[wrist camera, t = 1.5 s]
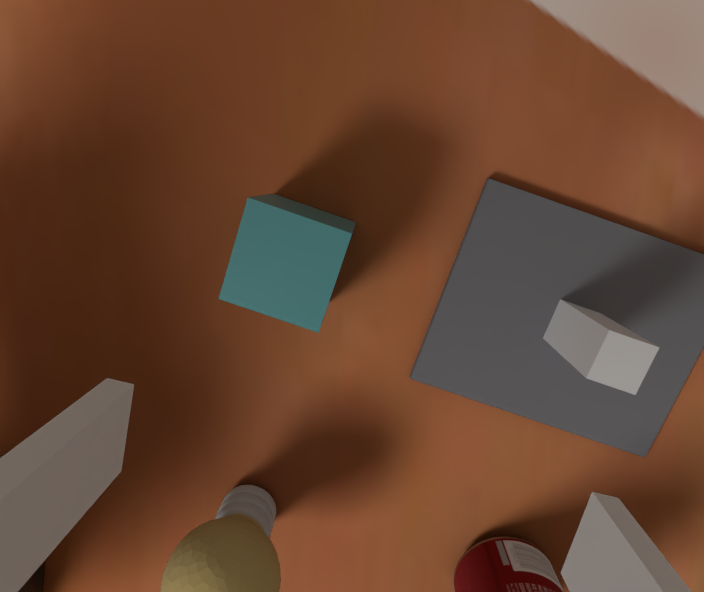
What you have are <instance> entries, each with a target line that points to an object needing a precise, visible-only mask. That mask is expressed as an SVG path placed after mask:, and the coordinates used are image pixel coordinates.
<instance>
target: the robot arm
mask: <svg viewBox="0 0 704 592" xmlns="http://www.w3.org/2000/svg"><path fill="white" fill-rule="evenodd" d="M133 390H134V384H131V383H127V382H122V381H118V380H114V379H110V378H106V379H105V380H104V381H102V382H101V383H100V384H98V385H97V386H96V387H94V388H93V389H92V390H90V391H89V392H88V393H86V394H85V395H84V396H82V397H81V398H80V399H78V400H77V401H76V402H74V403H73V404H72V405H70V406H69V407H68V408H66V409H65V410H64V411H62V412H61V413H60V414H58V415H57V416H56V417H54V418H53V419H52V420H50V421H49V422H48V423H46V424H45V425H44V426H42V427H41V428H40V429H38V430H37V431H36V432H34V433H33V434H32V435H30V436H29V437H28V438H26V439H25V440H24V441H22V442H21V443H20V444H18V445H17V446H16V447H14V448H13V449H12V450H10V451H9V452H8V453H6V454H5V455H4V456H2V457H1V458H0V592H41V591H42V586H43V578H44V568H43V562H44V561H45V560H46V558H47V557H48V556H49V555H50V554H51V553H52V551H53V550H54V549H55V548H56V547H57V546H58V544H59V543H60V542H61V541H62V540H63V539H64V537H65V536H66V535H67V534H68V533H69V532H70V530H71V529H72V528H73V527H74V526H75V525H76V523H77V522H78V521H79V520H80V519H81V518H82V516H83V515H84V514H85V513H86V512H87V511H88V509H89V508H90V507H91V506H92V505H93V504H94V502H95V501H96V500H97V499H98V498H99V497H100V495H101V494H102V493H103V492H104V491H105V490H106V489H107V487H108V486H109V485H110V484H111V483H112V482H113V480H114V479H115V478H116V477H117V476H118V475H119V473H120V472H121V471H122V464H123V457H124V450H125V444H126V437H127V430H128V424H129V417H130V410H131V403H132V397H133ZM561 575H562V577H563V579H564V581H565V583H566V585H567V587H568V589H569V591H570V592H691V590H690V589H689V588H688V587H687V585H686V584H685V583H684V581H683V580H682V579H681V578H680V576H679V575H678V574H677V572H676V571H675V570H674V569H673V567H672V566H671V565H670V563H669V562H668V561H667V560H666V558H665V557H664V556H663V554H662V553H661V552H660V551H659V549H658V548H657V547H656V545H655V544H654V543H653V542H652V540H651V539H650V538H649V536H648V535H647V534H646V533H645V531H644V530H643V529H642V528H641V526H640V525H639V524H638V522H637V521H636V520H635V519H634V517H633V516H632V515H631V513H630V512H629V511H628V510H627V508H626V507H625V506H624V504H623V503H622V502H621V501H620V499H619V498H617V497H613V496H608V495H604V494H600V493H596V492H592V493H591V496H590V498H589V501H588V503H587V506H586V509H585V511H584V514H583V516H582V519H581V521H580V524H579V527H578V529H577V532H576V534H575V537H574V539H573V542H572V545H571V547H570V550H569V552H568V555H567V557H566V560H565V563H564V565H563V568H562V570H561Z"/></svg>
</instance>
